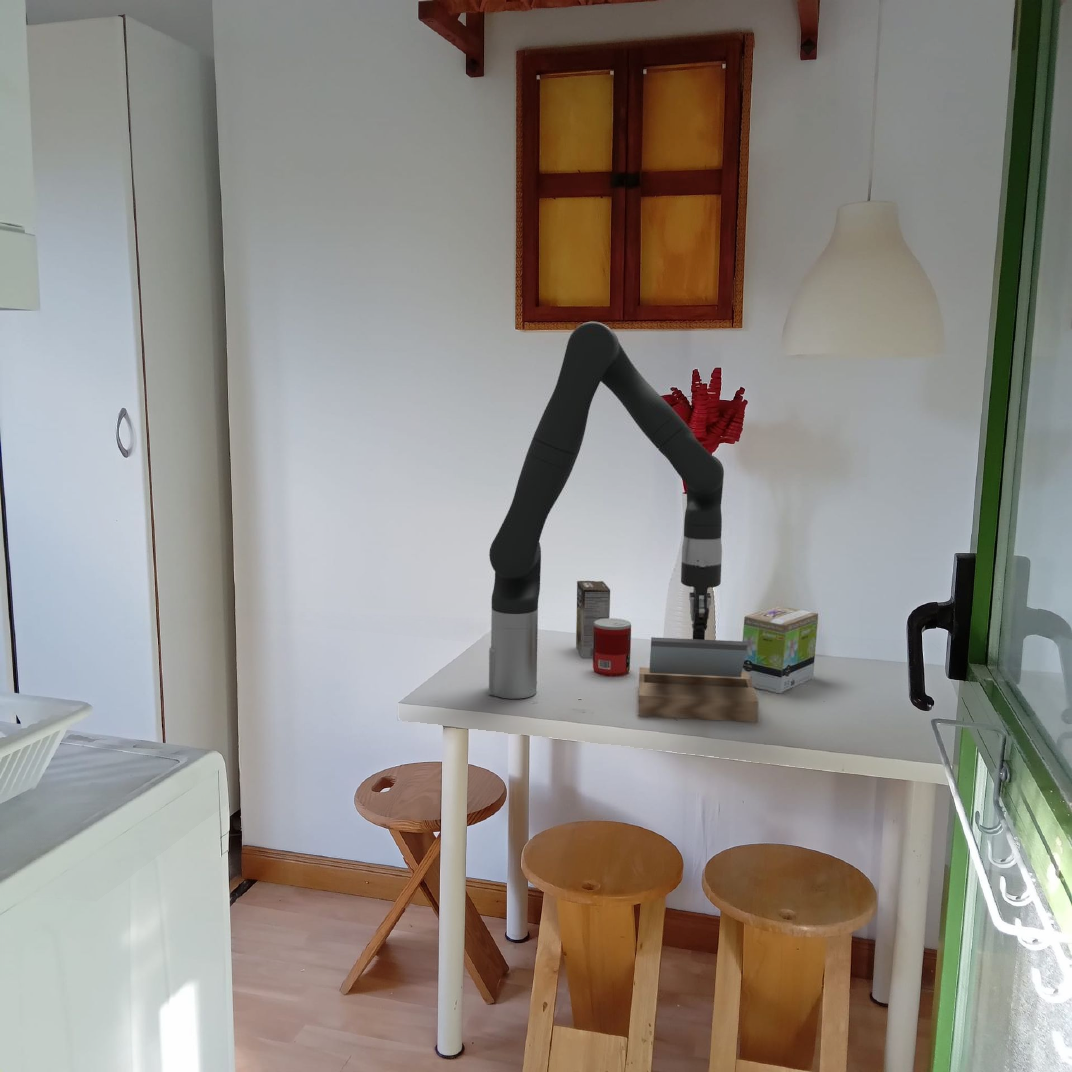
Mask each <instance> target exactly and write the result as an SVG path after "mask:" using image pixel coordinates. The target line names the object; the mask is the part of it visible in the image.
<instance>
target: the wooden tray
mask: <svg viewBox="0 0 1072 1072" xmlns="http://www.w3.org/2000/svg"><path fill="white" fill-rule="evenodd" d="M649 670H650V667H639V671H638V672H639V673H638V704H637V705H638V707H637V709H638V710H637V716H638V717H653V718H654V717H657V718H658V717H659V718H671V719H672V718H674V719H676V718H677V719H693V720H695V719H696V720H709V721H710V720H712V721H713V720H714V721H715V720H716V721H728V722H729V721H730V722H731V721H732V722H750V723H757V722H758V713H759V712H758V710H759V709H758V708H759V699H758V697H757V693H756V691H755V689H754V688H755V687H753V685H752V682H751V679H750V676H749V673H747V672H742V674H741V677H726V676H706V675H685V674H664V673H649ZM684 684H685V685H684Z"/></svg>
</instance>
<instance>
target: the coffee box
mask: <svg viewBox="0 0 1072 1072" xmlns="http://www.w3.org/2000/svg"><path fill="white" fill-rule="evenodd" d="M610 606H611V589H610V587H608V585H607V584H606V583H605V582H604V581H603V580H599V581H597V580H596V581H594V580H576V631H575V633H576V634H575V648H576V650H577V652H578V654H579V655H580V657H581V659H593V638H594V622H595V621H596V620H599V619H606V618H610V616H611V615H610V613H611V611H610V610H611V609H610V608H611V607H610Z"/></svg>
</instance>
